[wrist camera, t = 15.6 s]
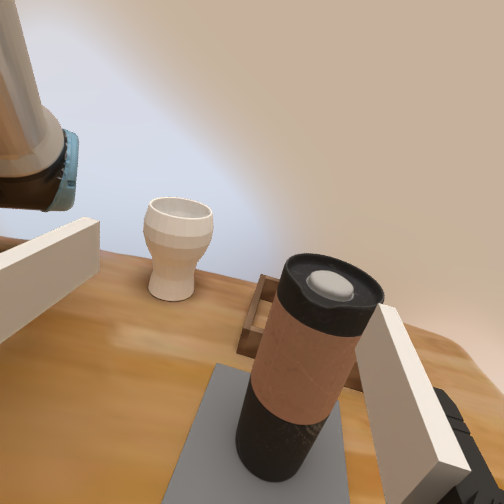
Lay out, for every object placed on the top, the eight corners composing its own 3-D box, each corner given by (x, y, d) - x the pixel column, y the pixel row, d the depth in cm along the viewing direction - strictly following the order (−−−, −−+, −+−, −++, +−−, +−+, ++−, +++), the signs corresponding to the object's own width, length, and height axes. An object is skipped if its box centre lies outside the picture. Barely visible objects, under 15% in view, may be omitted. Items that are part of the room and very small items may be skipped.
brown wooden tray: (236, 352, 41) (243, 327, 39) (255, 294, 56) (260, 274, 54) (392, 401, 40) (407, 377, 38) (370, 327, 54) (380, 308, 52)
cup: (199, 310, 48) (215, 225, 42) (131, 302, 46) (137, 211, 40) (203, 276, 57) (216, 203, 51) (147, 268, 55) (153, 191, 49)
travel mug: (289, 406, 35) (350, 255, 26) (318, 479, 28) (411, 309, 20) (226, 412, 32) (270, 248, 24) (241, 493, 26) (309, 307, 17)
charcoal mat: (158, 513, 24) (159, 508, 23) (215, 367, 38) (216, 362, 38) (354, 583, 23) (358, 578, 22) (336, 405, 37) (338, 400, 37)
